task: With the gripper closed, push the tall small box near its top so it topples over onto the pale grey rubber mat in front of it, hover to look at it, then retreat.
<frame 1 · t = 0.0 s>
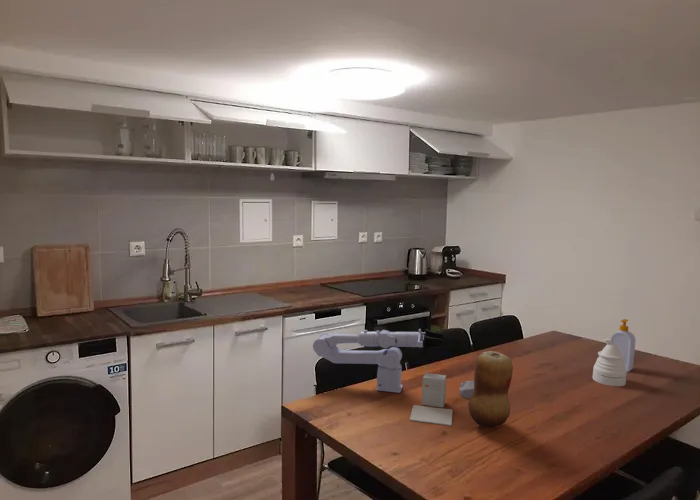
hand: (443, 339, 197), 22 cm above the table, tool horizontal, fingers open, 7 cm apart
butternut squash: (488, 425, 174), on the table
soap bottle: (620, 368, 239), on the table
stone block: (471, 394, 202), on the table
small box: (433, 404, 190), on the table
mat: (431, 415, 180), on the table
honey pot: (608, 381, 222), on the table
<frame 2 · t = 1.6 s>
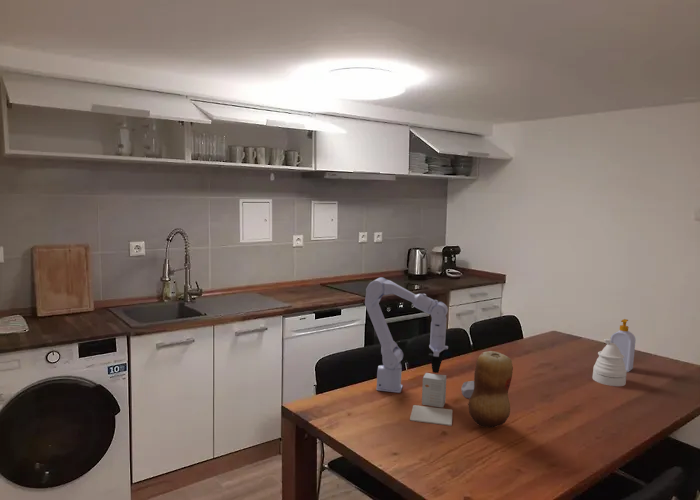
hand: (436, 369, 197), 10 cm above the table, tool pointing down, fingers open, 7 cm apart
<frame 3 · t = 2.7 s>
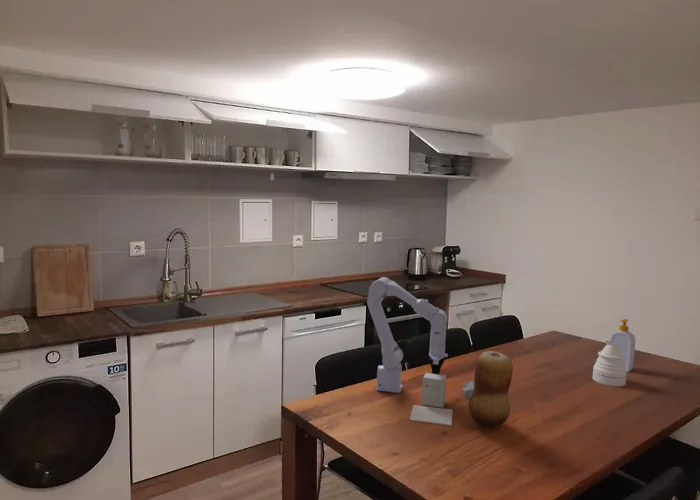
hand: (435, 376, 197), 7 cm above the table, tool pointing down, fingers closed
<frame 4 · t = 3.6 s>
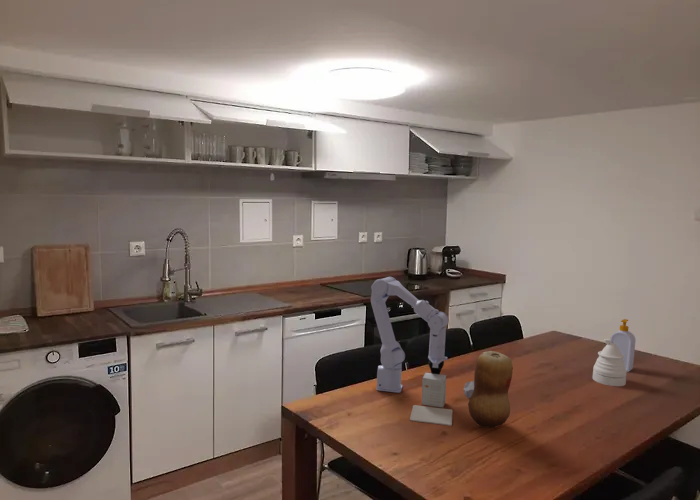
hand: (435, 380, 193), 7 cm above the table, tool pointing down, fingers closed
small box: (433, 403, 190), on the table, touching gripper
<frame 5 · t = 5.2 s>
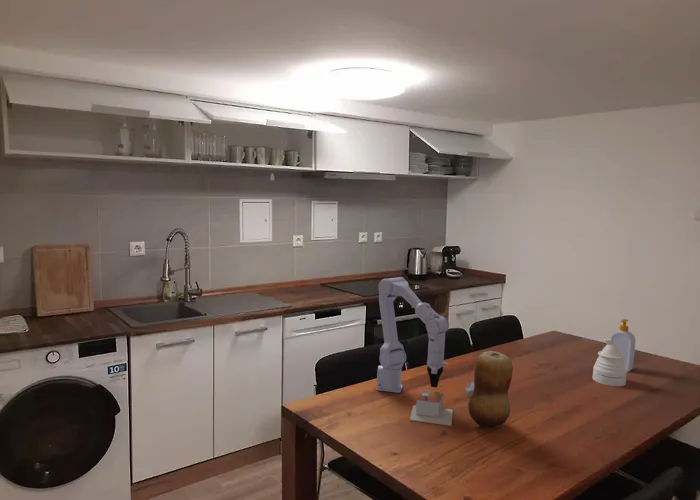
hand: (434, 386, 187), 7 cm above the table, tool pointing down, fingers closed
small box: (432, 397, 188), point 3 cm above the table, touching mat
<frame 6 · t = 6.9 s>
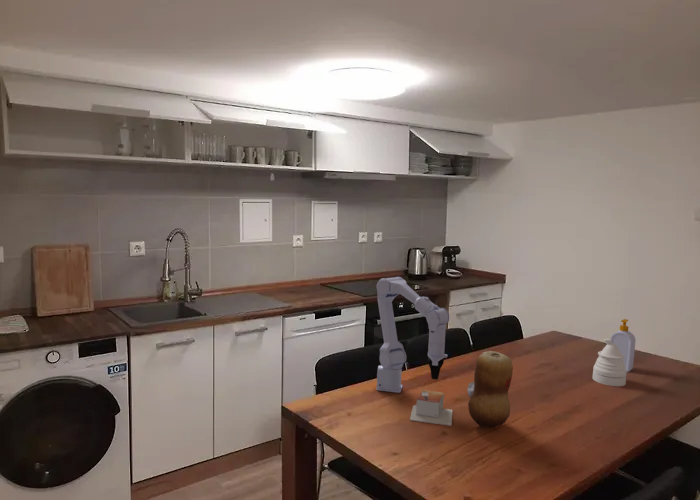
hand: (434, 378, 186), 10 cm above the table, tool pointing down, fingers closed
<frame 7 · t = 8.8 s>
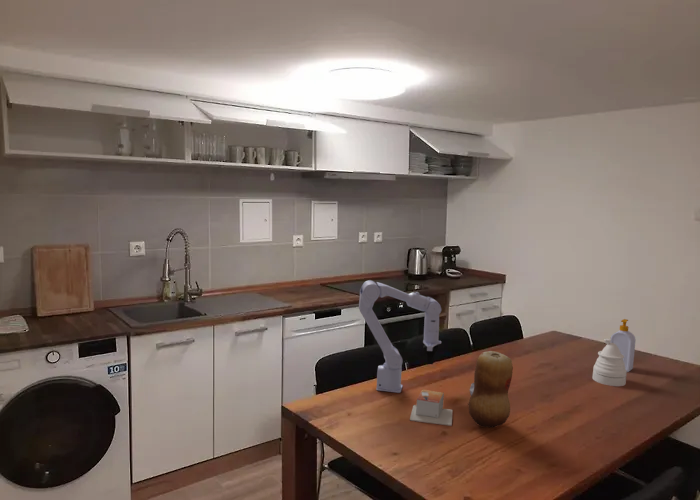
hand: (430, 363, 204), 10 cm above the table, tool pointing down, fingers closed
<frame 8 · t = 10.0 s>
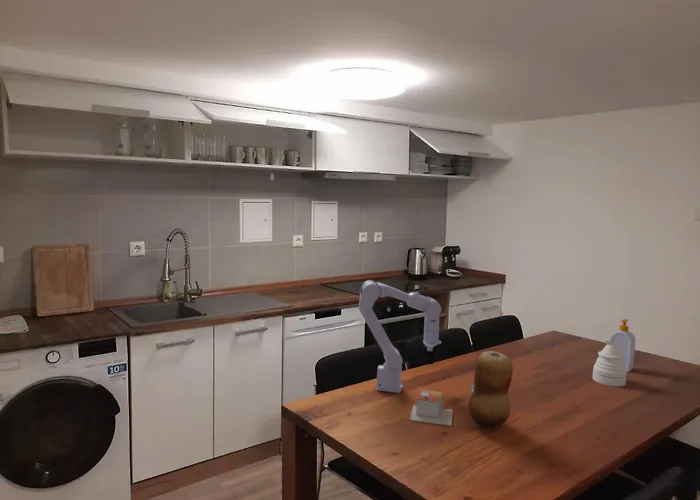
hand: (430, 363, 204), 10 cm above the table, tool pointing down, fingers closed
at the end: small box tilted 90°; small box inside the target area (6.1 cm from its centre), point 3.1 cm above the table; small box 8.3 cm from the mat (horizontally) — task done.
